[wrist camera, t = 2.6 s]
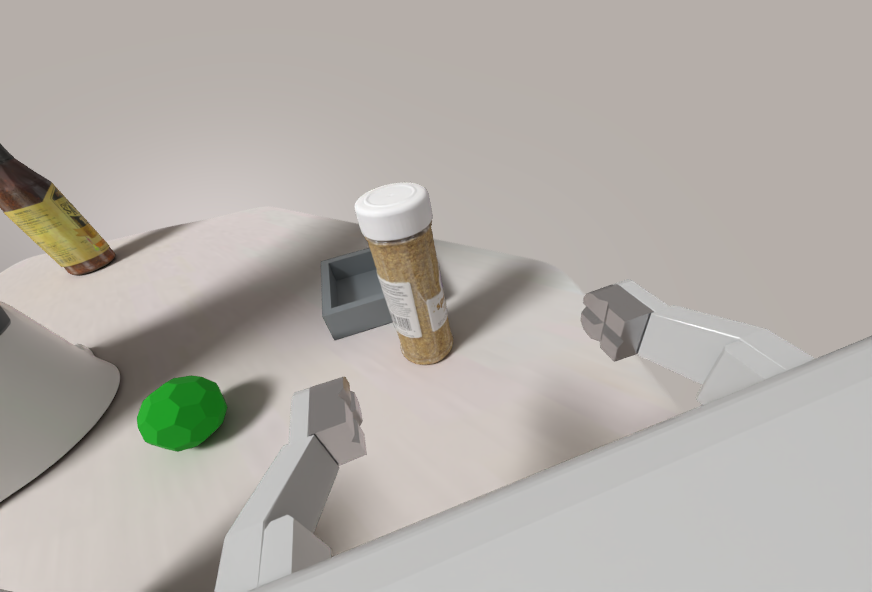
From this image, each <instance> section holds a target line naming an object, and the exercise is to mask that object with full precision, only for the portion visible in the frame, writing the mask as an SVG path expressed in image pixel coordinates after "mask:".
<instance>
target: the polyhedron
mask: <svg viewBox="0 0 872 592" xmlns="http://www.w3.org/2000/svg"><path fill="white" fill-rule="evenodd" d="M226 410H227V405H226V403H225V400H224V398H223V395H222V393H221V391H220V389H219V387H218V385H217V384H216V383H215V382H212V381H210V380H208V379H205V378H203V377H198V376H186V377H179V378H173V379H171V380H170V381H168V382H166V383H165V384H163V385H162V386H161V387H159V388H158V389H157V390H155V391H154V392H153V393H151V394H150V395H149V396H148V397H147V398H146V399H145V400H144V401H143V402H142V405H141V408H140V411H139V413H138V416H137V424H138V429H139V431H140V433H141V435H142V437H143V439H144V440H145V442H147V443H149V444H151V445H155V446H158V447H161V448H165V449H168V450H173V451H182V450H185V449H189V448H193V447H196V446H198V445H199V444H200V443H202V442H203V441H204V440H206V439H207V438H208V437H209V436H210V435H211V434H212V433H213V432H214V431H215V430H216V429H217V428H218V427H219V426H220V425H221V424H222V423H223V421H224V417H225V414H226Z"/></svg>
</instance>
